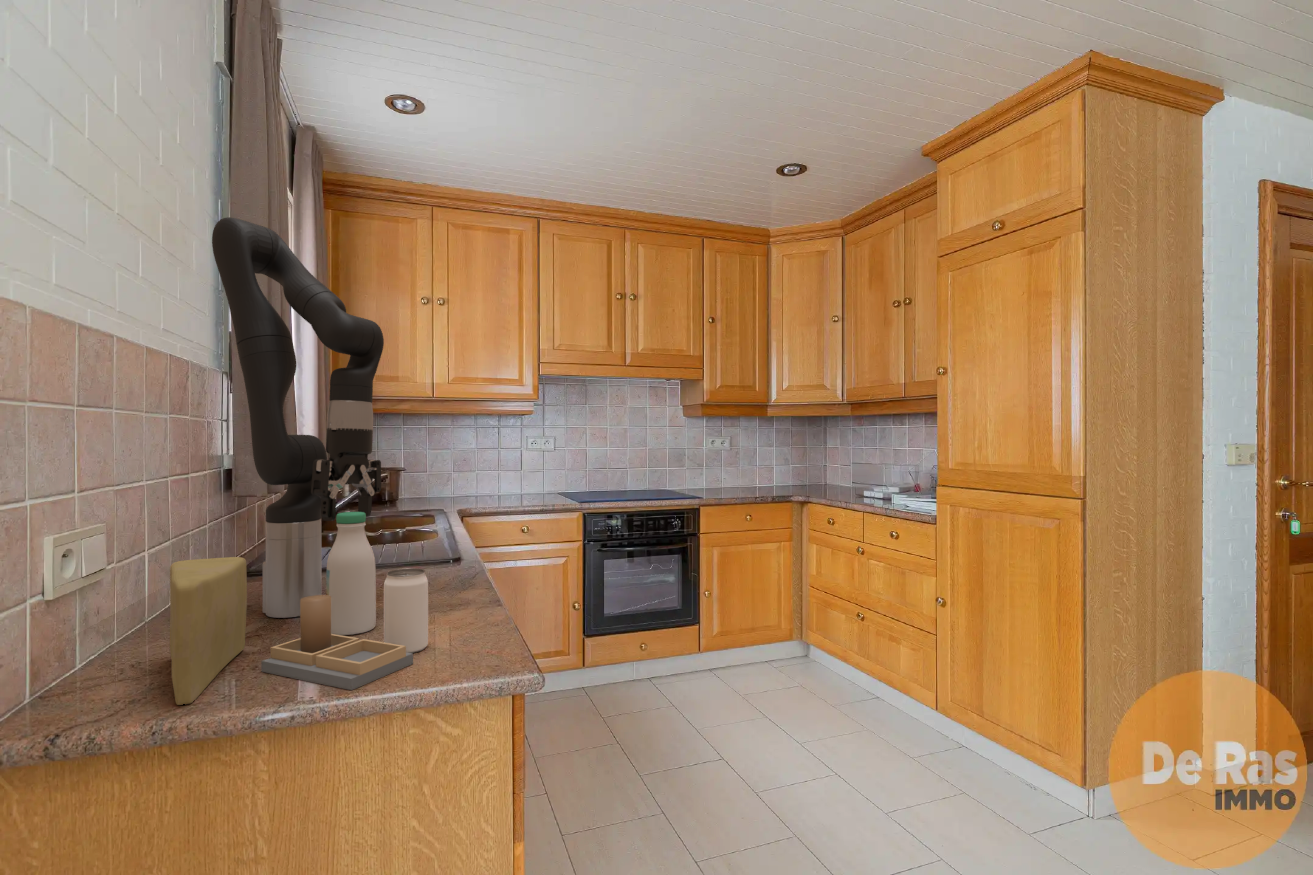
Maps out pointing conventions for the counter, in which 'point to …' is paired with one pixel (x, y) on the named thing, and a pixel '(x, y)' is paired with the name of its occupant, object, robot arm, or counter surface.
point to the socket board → (332, 652)
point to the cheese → (205, 621)
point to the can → (406, 609)
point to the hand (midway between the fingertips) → (346, 518)
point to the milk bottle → (351, 577)
